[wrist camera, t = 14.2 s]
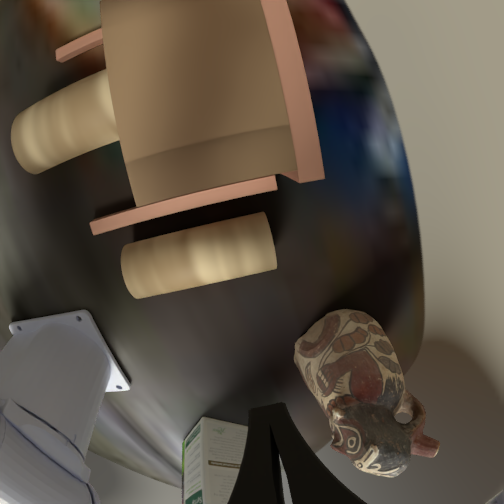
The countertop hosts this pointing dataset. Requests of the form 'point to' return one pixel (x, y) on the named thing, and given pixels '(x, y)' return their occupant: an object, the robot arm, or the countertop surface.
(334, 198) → the countertop surface
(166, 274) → the short dowel
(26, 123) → the dowel
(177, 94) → the block
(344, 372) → the figurine
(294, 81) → the end wall and guide rails
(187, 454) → the syrup box
